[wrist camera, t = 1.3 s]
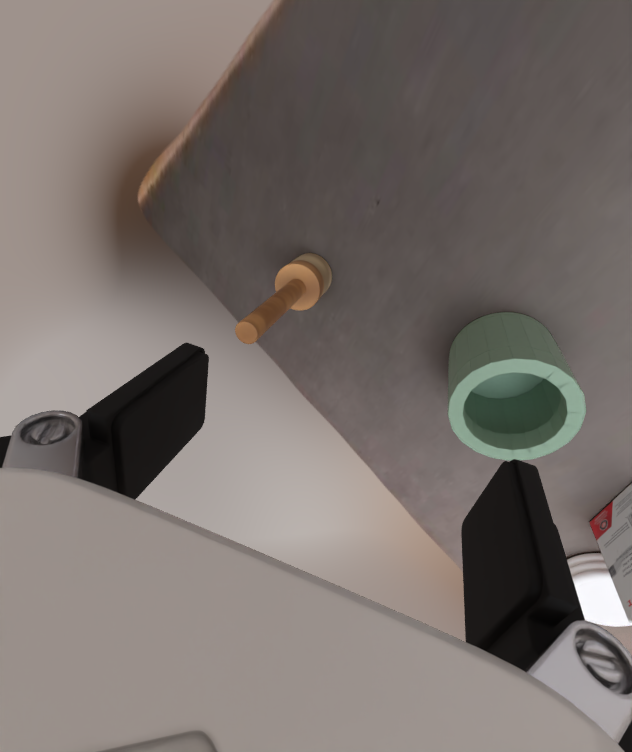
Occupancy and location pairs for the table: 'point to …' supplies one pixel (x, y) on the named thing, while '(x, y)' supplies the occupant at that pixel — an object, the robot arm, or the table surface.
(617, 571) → the ink box
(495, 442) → the jar
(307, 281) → the wooden stamp
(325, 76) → the table surface
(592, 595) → the white round disc stack
